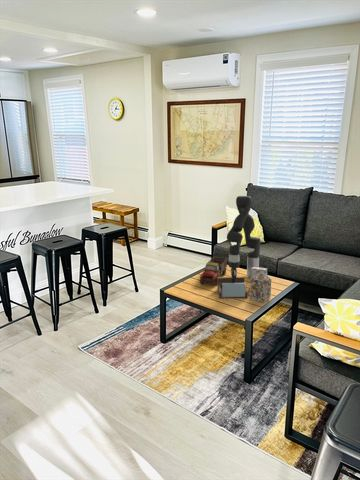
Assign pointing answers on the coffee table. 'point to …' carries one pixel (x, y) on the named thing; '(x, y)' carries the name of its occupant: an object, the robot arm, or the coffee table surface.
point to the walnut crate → (229, 280)
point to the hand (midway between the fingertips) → (233, 283)
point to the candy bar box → (258, 271)
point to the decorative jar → (260, 288)
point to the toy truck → (214, 270)
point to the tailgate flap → (233, 289)
